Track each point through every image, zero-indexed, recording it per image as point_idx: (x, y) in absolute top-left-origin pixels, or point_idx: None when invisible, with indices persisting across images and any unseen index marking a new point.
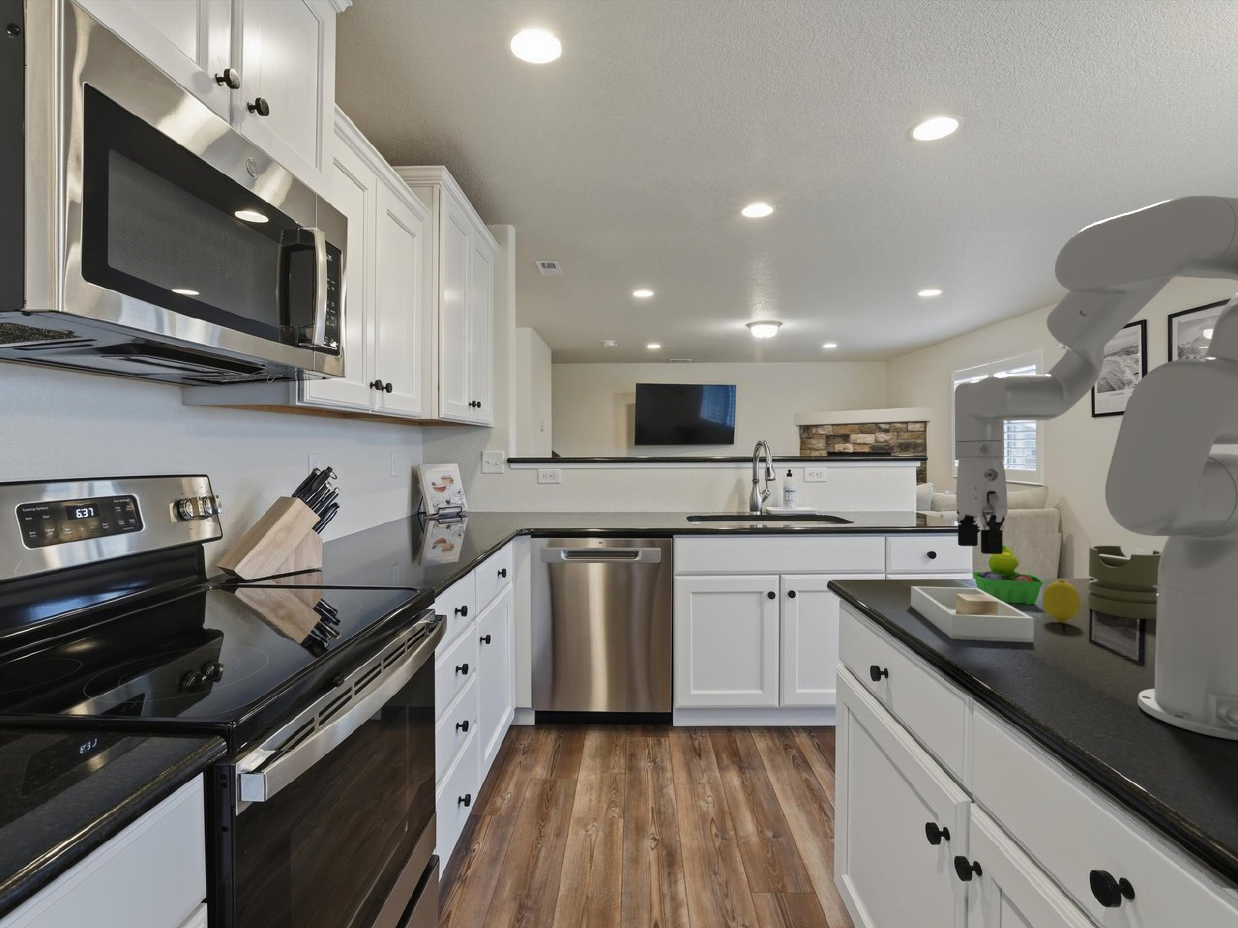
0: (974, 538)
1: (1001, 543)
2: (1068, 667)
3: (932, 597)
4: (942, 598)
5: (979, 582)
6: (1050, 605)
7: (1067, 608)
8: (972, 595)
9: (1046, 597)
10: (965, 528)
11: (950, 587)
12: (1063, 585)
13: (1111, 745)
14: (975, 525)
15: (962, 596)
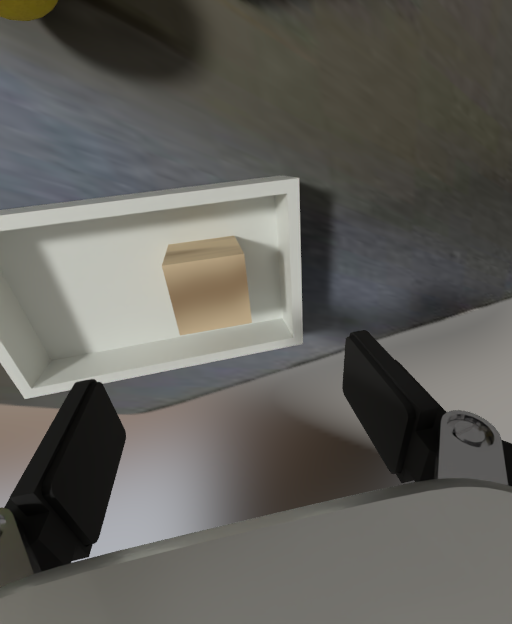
0: (91, 417)
1: (389, 358)
2: (423, 168)
3: (25, 340)
4: (12, 317)
5: None
6: (44, 6)
7: None
8: (189, 301)
9: (9, 1)
10: (90, 505)
11: None
12: None
13: None
14: (58, 492)
15: (210, 325)
